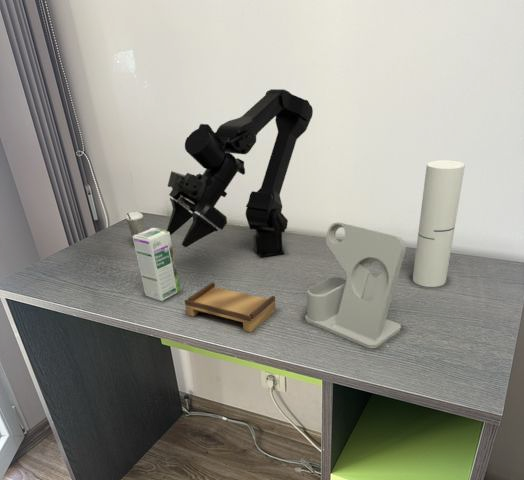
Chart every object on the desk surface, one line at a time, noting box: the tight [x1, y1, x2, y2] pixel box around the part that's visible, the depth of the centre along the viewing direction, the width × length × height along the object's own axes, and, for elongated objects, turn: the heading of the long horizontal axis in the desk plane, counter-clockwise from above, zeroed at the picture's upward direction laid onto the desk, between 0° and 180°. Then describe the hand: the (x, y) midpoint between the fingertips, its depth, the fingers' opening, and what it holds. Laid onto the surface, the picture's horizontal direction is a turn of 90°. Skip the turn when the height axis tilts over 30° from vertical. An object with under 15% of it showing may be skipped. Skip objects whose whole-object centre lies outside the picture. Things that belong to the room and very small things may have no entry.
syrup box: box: [132, 227, 181, 302], centre depth 109 cm, size 6×6×14 cm
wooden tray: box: [184, 282, 277, 333], centre depth 102 cm, size 16×10×4 cm, turn 59°
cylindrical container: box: [412, 159, 466, 288], centre depth 104 cm, size 7×7×25 cm
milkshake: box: [125, 211, 145, 243], centre depth 137 cm, size 4×5×10 cm
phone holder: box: [304, 222, 407, 349], centre depth 92 cm, size 17×10×18 cm, turn 45°
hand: (175, 239), depth 108 cm, fingers open, 9 cm apart
